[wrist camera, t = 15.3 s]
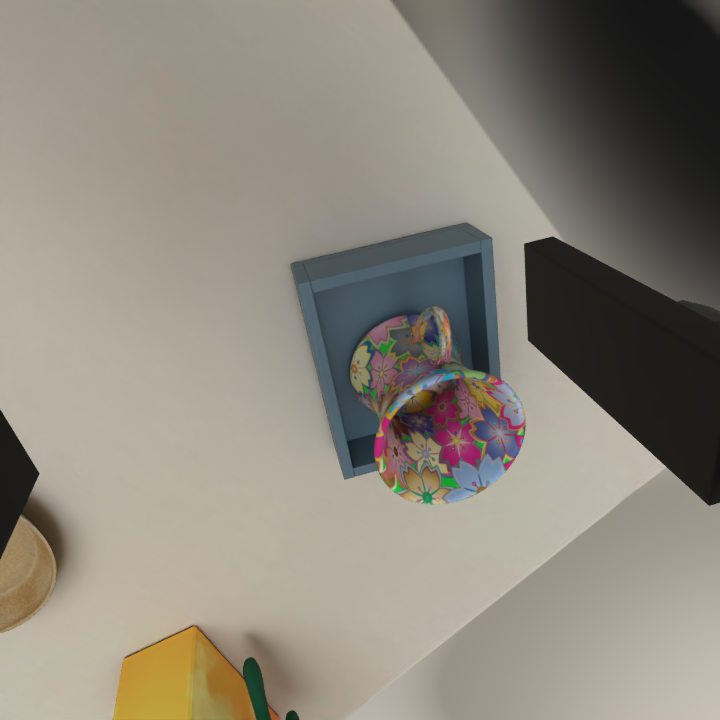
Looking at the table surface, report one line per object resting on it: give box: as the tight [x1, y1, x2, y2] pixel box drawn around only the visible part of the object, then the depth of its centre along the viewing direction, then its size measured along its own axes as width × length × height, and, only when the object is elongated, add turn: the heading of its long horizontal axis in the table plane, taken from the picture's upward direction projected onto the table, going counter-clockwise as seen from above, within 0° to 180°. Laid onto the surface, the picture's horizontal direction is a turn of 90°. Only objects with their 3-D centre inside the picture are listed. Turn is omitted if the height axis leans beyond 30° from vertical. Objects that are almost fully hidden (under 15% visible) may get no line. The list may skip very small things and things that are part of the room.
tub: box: [291, 223, 501, 479], centre depth 40 cm, size 13×16×4 cm
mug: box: [350, 306, 526, 504], centre depth 37 cm, size 12×9×11 cm
